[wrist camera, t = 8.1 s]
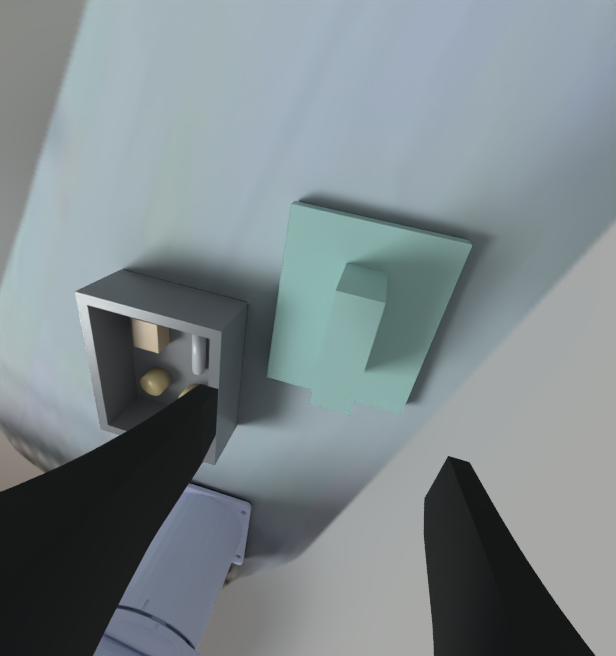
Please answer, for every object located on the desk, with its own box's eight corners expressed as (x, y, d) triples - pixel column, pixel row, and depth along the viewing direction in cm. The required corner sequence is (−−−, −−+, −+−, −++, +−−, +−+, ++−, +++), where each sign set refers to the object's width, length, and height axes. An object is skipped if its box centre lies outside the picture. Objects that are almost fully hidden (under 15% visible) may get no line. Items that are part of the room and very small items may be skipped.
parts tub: (236, 425, 25) (214, 465, 22) (135, 395, 26) (100, 429, 23) (247, 302, 20) (221, 331, 17) (121, 269, 21) (75, 291, 18)
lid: (400, 401, 21) (401, 463, 17) (272, 365, 22) (244, 416, 18) (467, 238, 16) (491, 271, 12) (297, 199, 17) (266, 219, 13)
